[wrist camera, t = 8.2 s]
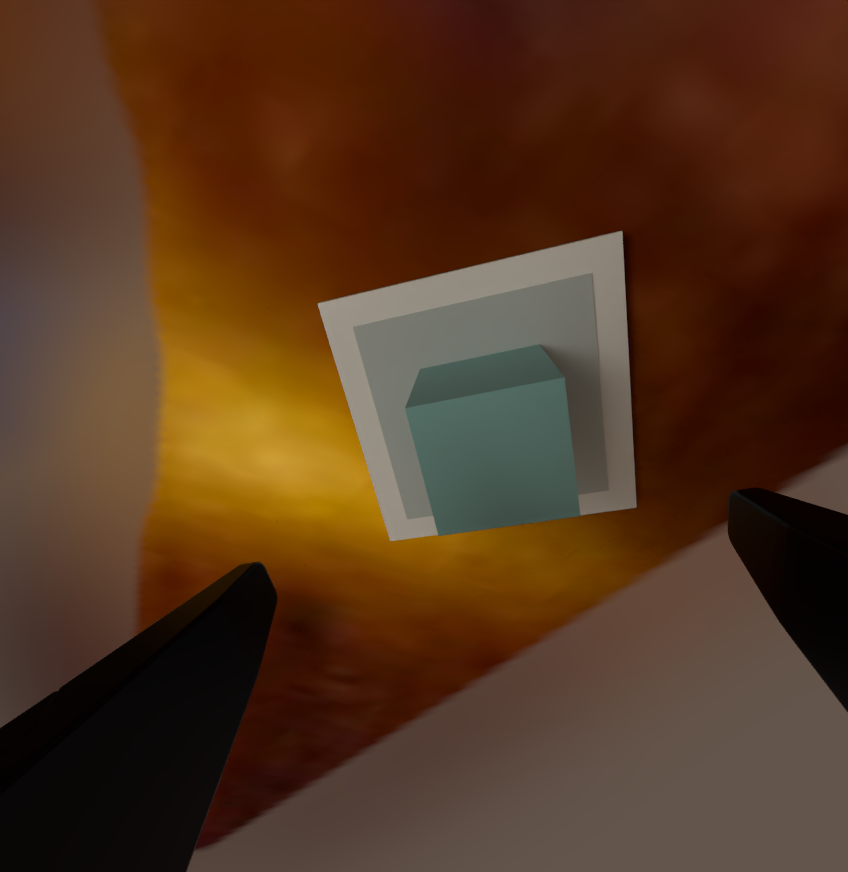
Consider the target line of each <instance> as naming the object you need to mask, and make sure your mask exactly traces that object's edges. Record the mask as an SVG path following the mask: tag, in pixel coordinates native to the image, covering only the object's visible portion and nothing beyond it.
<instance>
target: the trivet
mask: <svg viewBox="0 0 848 872" xmlns="http://www.w3.org/2000/svg"><path fill="white" fill-rule="evenodd" d="M318 307H319V310H320V314H321V317H322V320H323V323H324V327H325V330H326V333H327V336H328V340H329V343H330V346H331V349H332V353H333V356H334V359H335V362H336V366H337V369H338V372H339V375H340V379H341V382H342V385H343V389H344V392H345V395H346V398H347V402H348V405H349V408H350V411H351V415H352V418H353V421H354V424H355V428H356V431H357V434H358V437H359V441H360V444H361V447H362V450H363V454H364V457H365V460H366V463H367V467H368V470H369V473H370V476H371V480H372V483H373V486H374V489H375V493H376V496H377V499H378V503H379V506H380V509H381V512H382V516H383V519H384V522H385V525H386V529H387V532H388V535H389V538H390V541H395V540H402V539H409V538H417V537H424V536H432V535H438V532H437V529H436V525H435V521H434V517H433V513H432V510H431V506H430V502H429V498H428V494H427V491H426V487H425V483H424V479H423V475H422V472H421V468H420V464H419V460H418V456H417V452H416V449H415V445H414V441H413V437H412V433H411V430H410V426H409V422H408V418H407V414H406V411H405V407H406V404H407V401H408V399H409V396H410V394H411V391H412V388H413V386H414V383H415V381H416V378H417V376H418V373H419V370H420V369H422V368H427V367H432V366H437V365H442V364H446V363H451V362H456V361H461V360H466V359H470V358H475V357H480V356H485V355H490V354H494V353H499V352H504V351H509V350H514V349H518V348H523V347H528V346H533V345H538V344H539V345H540V346H541V347H542V349H543V350H544V351H545V352H546V354H547V355H548V356H549V358H550V359H551V360H552V362H553V363H554V364H555V366H556V367H557V368H558V369H559V371H560V372H561V373H562V375H563V376H564V377H565V386H566V394H567V403H568V412H569V420H570V429H571V438H572V447H573V455H574V464H575V473H576V481H577V490H578V499H579V508H580V515H586V514H593V513H600V512H608V511H615V510H622V509H630V508H637V506H636V486H635V467H634V447H633V428H632V409H631V389H630V370H629V351H628V331H627V312H626V292H625V273H624V254H623V234H622V231H618V232H613V233H608V234H604V235H600V236H596V237H592V238H587V239H583V240H579V241H575V242H571V243H567V244H562V245H558V246H554V247H550V248H546V249H541V250H537V251H533V252H529V253H525V254H520V255H516V256H512V257H508V258H504V259H500V260H495V261H491V262H487V263H483V264H479V265H474V266H470V267H466V268H462V269H458V270H453V271H449V272H445V273H441V274H437V275H432V276H428V277H424V278H420V279H416V280H412V281H407V282H403V283H399V284H395V285H391V286H386V287H382V288H378V289H374V290H370V291H365V292H361V293H357V294H353V295H349V296H344V297H340V298H336V299H332V300H328V301H324V302H321V303H318Z"/></svg>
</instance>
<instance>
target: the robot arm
mask: <svg viewBox="0 0 848 872" xmlns="http://www.w3.org/2000/svg"><path fill="white" fill-rule="evenodd" d="M728 535H729V539H730V541H731V543H732V545H733V547H734V549H735V550H736V552H737V554H738V555H739V557H740V558H741V560H742V562H743V563H744V565H745V567H746V568H747V570H748V572H749V573H750V575H751V577H752V578H753V580H754V582H755V583H756V585H757V586H758V588H759V590H760V591H761V593H762V595H763V596H764V598H765V600H766V601H767V603H768V605H769V606H770V608H771V609H772V611H773V613H774V614H775V616H776V617H777V619H778V620H779V622H780V623H781V625H782V626H783V627H784V628H785V630H786V632H787V633H788V634H789V636H790V637H791V638H792V640H793V641H794V642H795V644H796V645H797V646H798V648H799V649H800V650H801V651H802V653H803V654H804V655H805V657H806V658H807V659H808V661H809V662H810V663H811V665H812V666H813V667H814V669H815V670H816V671H817V673H818V674H819V675H820V677H821V678H822V679H823V680H824V682H825V683H826V684H827V686H828V687H829V688H830V690H831V691H832V692H833V693H834V695H835V696H836V698H837V699H838V700H839V702H840V703H841V704H842V705H843V707H844V708H845V709H846V711H847V712H848V515H846V514H843V513H840V512H837V511H833V510H830V509H827V508H824V507H820V506H817V505H814V504H810V503H807V502H804V501H800V500H797V499H794V498H791V497H788V496H784V495H781V494H778V493H775V492H771V491H768V490H765V489H762V488H749V489H742V490H736V491H733V492H732V493H731V494H730V496H729V500H728ZM276 605H277V593H276V590H275V588H274V585H273V583H272V581H271V579H270V577H269V575H268V572H267V570H266V568H265V566H264V565H263V564H262V563H261V562H251V563H244V564H241V565H239V566H237V567H236V568H234V569H233V570H232V571H230V572H229V573H227V574H226V575H224V576H223V577H221V578H220V579H218V580H217V581H215V582H214V583H212V584H211V585H210V586H208V587H207V588H205V589H204V590H202V591H201V592H199V593H198V594H196V595H195V596H193V597H192V598H191V599H189V600H188V601H186V602H185V603H183V604H182V605H180V606H179V607H177V608H176V609H174V610H173V611H172V612H170V613H169V614H167V615H166V616H164V617H163V618H161V619H160V620H158V621H157V622H155V623H154V624H152V625H151V626H150V627H148V628H147V629H145V630H144V631H142V632H141V633H139V634H138V635H136V636H135V637H133V638H132V639H131V640H129V641H128V642H126V643H125V644H123V645H122V646H120V647H119V648H117V649H116V650H114V651H113V652H112V653H110V654H109V655H107V656H106V657H104V658H103V659H101V660H100V661H98V662H97V663H95V664H94V665H93V666H91V667H90V668H88V669H87V670H85V671H84V672H82V673H81V674H79V675H78V676H76V677H75V678H73V679H72V680H71V681H69V682H68V683H66V684H65V685H63V686H62V687H61V688H60V689H59V691H55V692H53V693H51V694H50V695H48V696H47V697H46V698H44V699H43V700H41V701H40V702H38V703H37V704H35V705H34V706H33V707H31V708H30V709H28V710H26V711H25V712H24V713H22V714H21V715H19V716H17V717H16V718H14V719H13V720H12V721H10V722H9V723H7V724H6V725H4V726H3V727H1V728H0V872H186V871H187V869H188V866H189V863H190V860H191V858H192V855H193V852H194V849H195V847H196V844H197V841H198V838H199V836H200V833H201V830H202V827H203V825H204V822H205V819H206V816H207V814H208V811H209V808H210V806H211V803H212V800H213V797H214V795H215V792H216V789H217V786H218V784H219V781H220V778H221V775H222V773H223V770H224V767H225V764H226V762H227V759H228V756H229V753H230V751H231V748H232V745H233V742H234V740H235V737H236V734H237V732H238V729H239V726H240V723H241V721H242V718H243V715H244V712H245V710H246V707H247V704H248V701H249V699H250V696H251V693H252V690H253V688H254V685H255V682H256V679H257V676H258V673H259V669H260V666H261V662H262V659H263V655H264V651H265V647H266V643H267V639H268V636H269V632H270V628H271V624H272V620H273V616H274V613H275V609H276Z"/></svg>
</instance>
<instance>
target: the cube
mask: <svg viewBox="0 0 848 872" xmlns="http://www.w3.org/2000/svg"><path fill="white" fill-rule="evenodd" d="M405 411H406V414H407V418H408V422H409V426H410V430H411V433H412V437H413V441H414V445H415V449H416V452H417V456H418V460H419V464H420V468H421V472H422V475H423V479H424V483H425V487H426V491H427V494H428V498H429V502H430V506H431V510H432V513H433V517H434V521H435V525H436V529H437V532H438V536H441V535H448V534H455V533H463V532H470V531H477V530H484V529H491V528H498V527H505V526H513V525H520V524H527V523H534V522H541V521H548V520H555V519H562V518H570V517H577V516H580V508H579V499H578V490H577V481H576V473H575V464H574V455H573V447H572V438H571V429H570V420H569V412H568V403H567V394H566V386H565V377H564V376H563V375H562V373H561V372H560V371H559V369H558V368H557V367H556V366H555V364H554V363H553V362H552V360H551V359H550V358H549V356H548V355H547V354H546V352H545V351H544V350H543V349H542V347H541V346H540V345H539V344H538V345H533V346H528V347H523V348H518V349H514V350H509V351H504V352H499V353H494V354H490V355H485V356H480V357H475V358H470V359H466V360H461V361H456V362H451V363H446V364H442V365H437V366H432V367H427V368H422V369H420V370H419V373H418V376H417V378H416V381H415V383H414V386H413V388H412V391H411V394H410V396H409V399H408V401H407V404H406V407H405Z"/></svg>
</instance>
